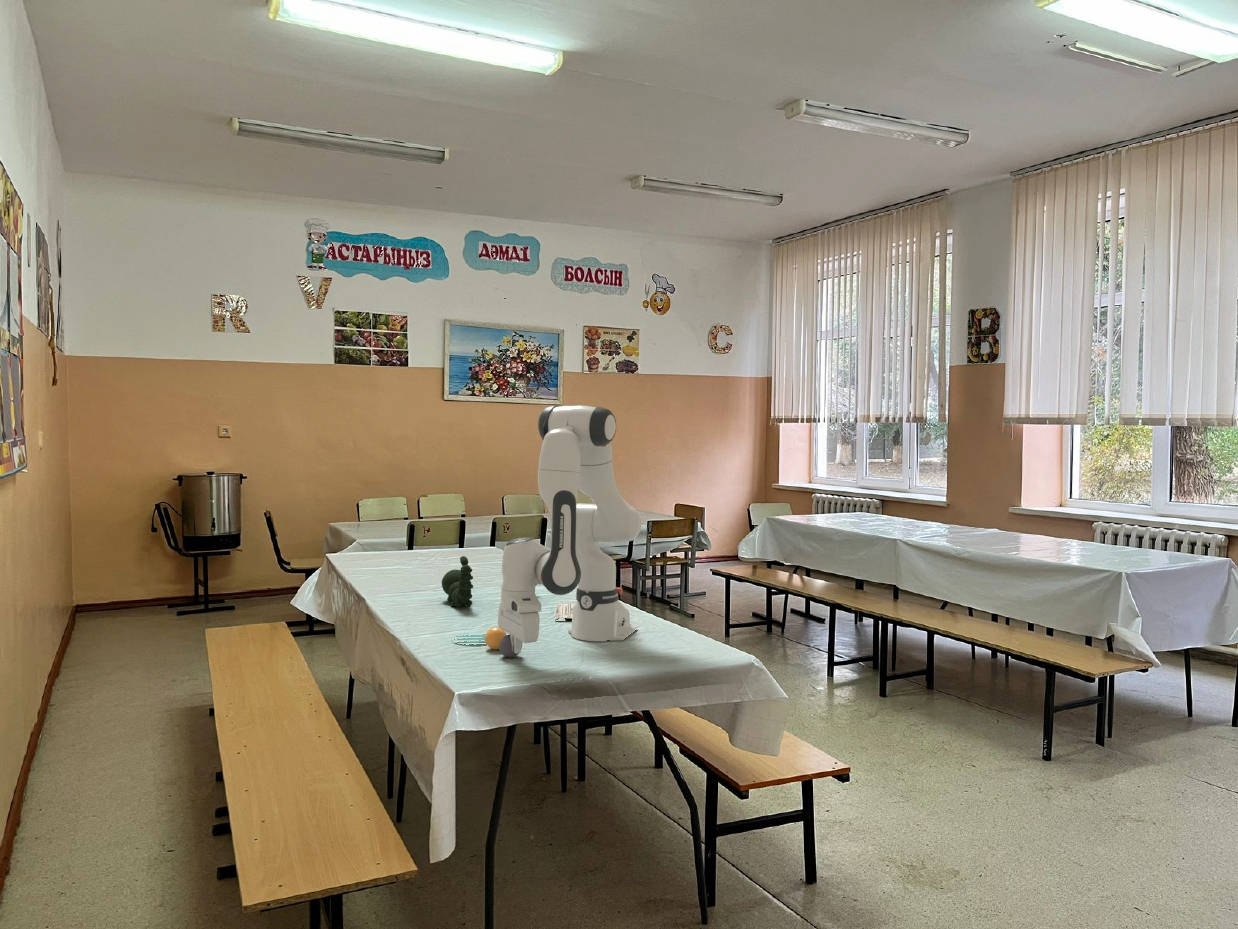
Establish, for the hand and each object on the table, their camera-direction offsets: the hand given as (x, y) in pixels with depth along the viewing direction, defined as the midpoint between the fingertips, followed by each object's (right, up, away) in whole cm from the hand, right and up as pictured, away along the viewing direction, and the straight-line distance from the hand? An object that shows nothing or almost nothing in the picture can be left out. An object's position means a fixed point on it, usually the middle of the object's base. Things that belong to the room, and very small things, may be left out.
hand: (516, 652), depth 218 cm
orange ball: (-7, +1, +11) cm, 13 cm away
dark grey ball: (-2, +1, +3) cm, 4 cm away
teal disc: (-14, -1, +21) cm, 25 cm away
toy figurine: (-28, +1, +68) cm, 74 cm away
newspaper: (+11, -1, +56) cm, 57 cm away
